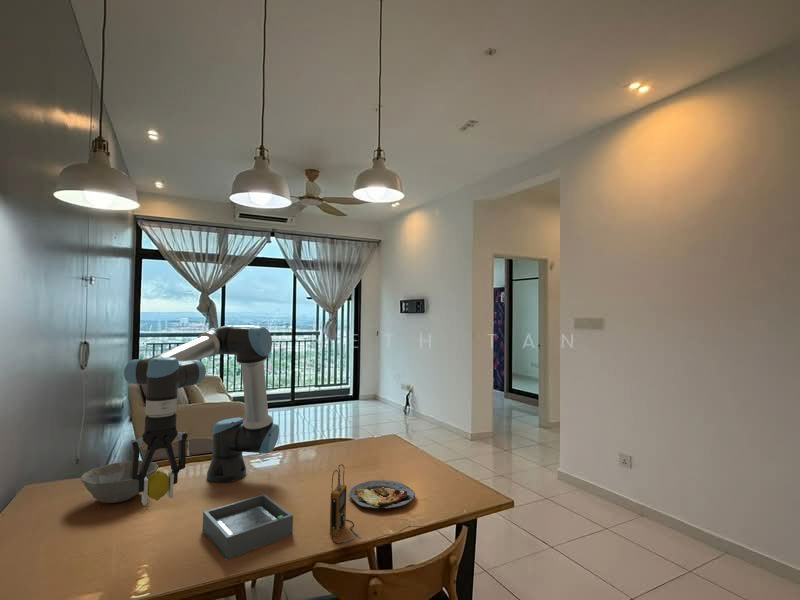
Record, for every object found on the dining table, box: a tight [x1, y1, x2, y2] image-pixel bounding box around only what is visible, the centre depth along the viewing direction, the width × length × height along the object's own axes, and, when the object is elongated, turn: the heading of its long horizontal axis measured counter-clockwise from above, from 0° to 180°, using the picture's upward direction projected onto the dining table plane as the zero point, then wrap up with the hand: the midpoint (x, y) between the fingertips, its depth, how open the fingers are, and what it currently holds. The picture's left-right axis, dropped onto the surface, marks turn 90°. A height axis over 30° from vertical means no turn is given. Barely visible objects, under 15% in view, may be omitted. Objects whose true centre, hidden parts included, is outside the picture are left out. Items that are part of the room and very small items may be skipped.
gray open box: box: [202, 493, 294, 561], centre depth 126 cm, size 20×20×7 cm
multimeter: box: [329, 464, 362, 545], centre depth 128 cm, size 15×10×20 cm
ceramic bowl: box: [80, 459, 159, 504], centre depth 148 cm, size 22×23×10 cm
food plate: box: [347, 479, 416, 510], centre depth 153 cm, size 25×23×4 cm
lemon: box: [147, 470, 169, 502], centre depth 112 cm, size 6×6×8 cm
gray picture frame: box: [216, 506, 276, 535], centre depth 126 cm, size 15×15×1 cm
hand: (157, 499), depth 112 cm, fingers closed on lemon, 5 cm apart
